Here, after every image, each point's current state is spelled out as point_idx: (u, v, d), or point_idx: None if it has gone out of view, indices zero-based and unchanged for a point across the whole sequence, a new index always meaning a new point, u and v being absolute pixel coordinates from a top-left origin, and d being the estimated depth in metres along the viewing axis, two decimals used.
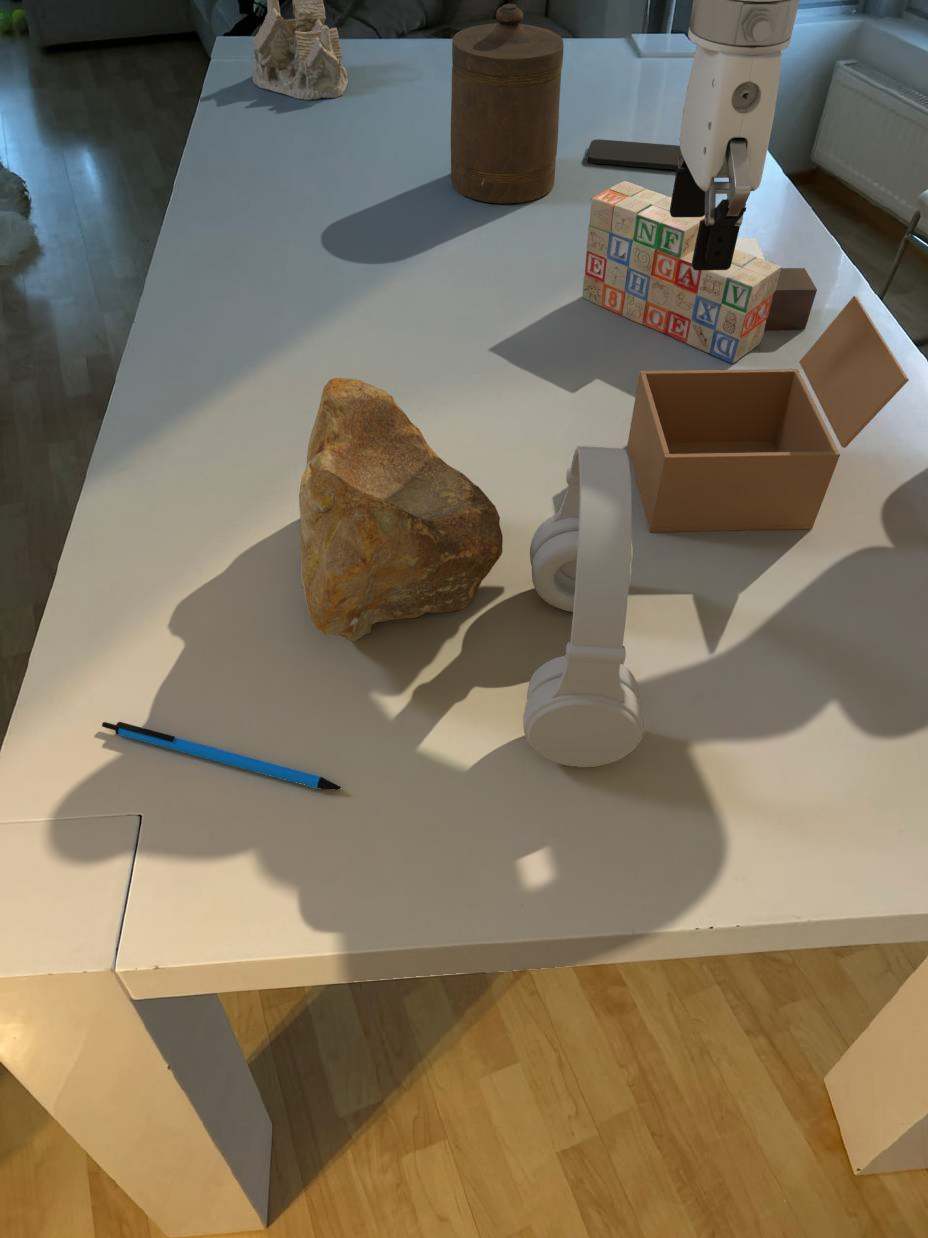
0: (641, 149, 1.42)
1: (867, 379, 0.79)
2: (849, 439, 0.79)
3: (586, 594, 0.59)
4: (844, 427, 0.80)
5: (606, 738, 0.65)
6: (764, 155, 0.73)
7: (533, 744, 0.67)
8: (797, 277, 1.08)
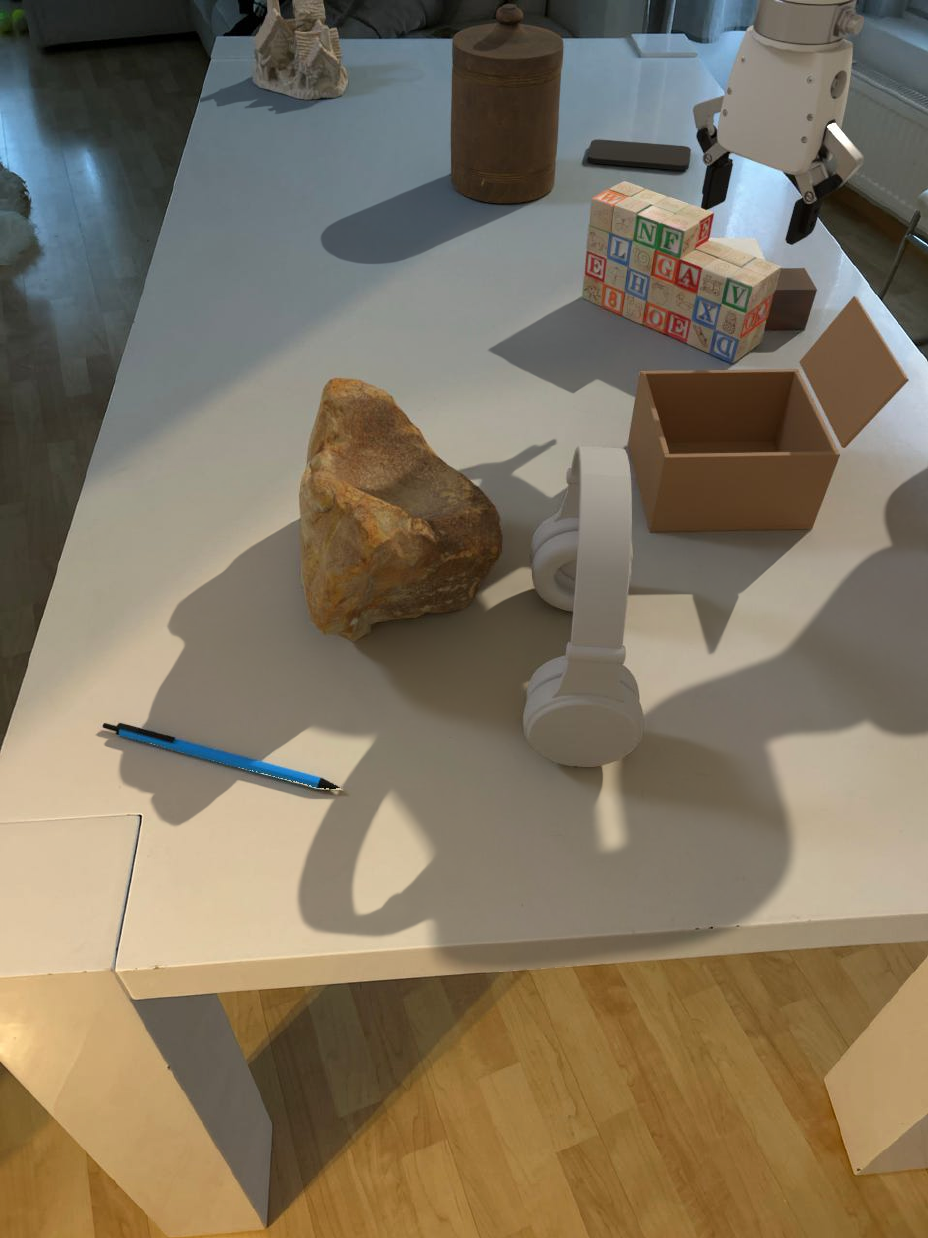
0: (641, 149, 1.42)
1: (867, 379, 0.79)
2: (849, 439, 0.79)
3: (586, 594, 0.59)
4: (844, 427, 0.80)
5: (606, 738, 0.65)
6: (840, 129, 0.83)
7: (533, 744, 0.67)
8: (797, 277, 1.08)
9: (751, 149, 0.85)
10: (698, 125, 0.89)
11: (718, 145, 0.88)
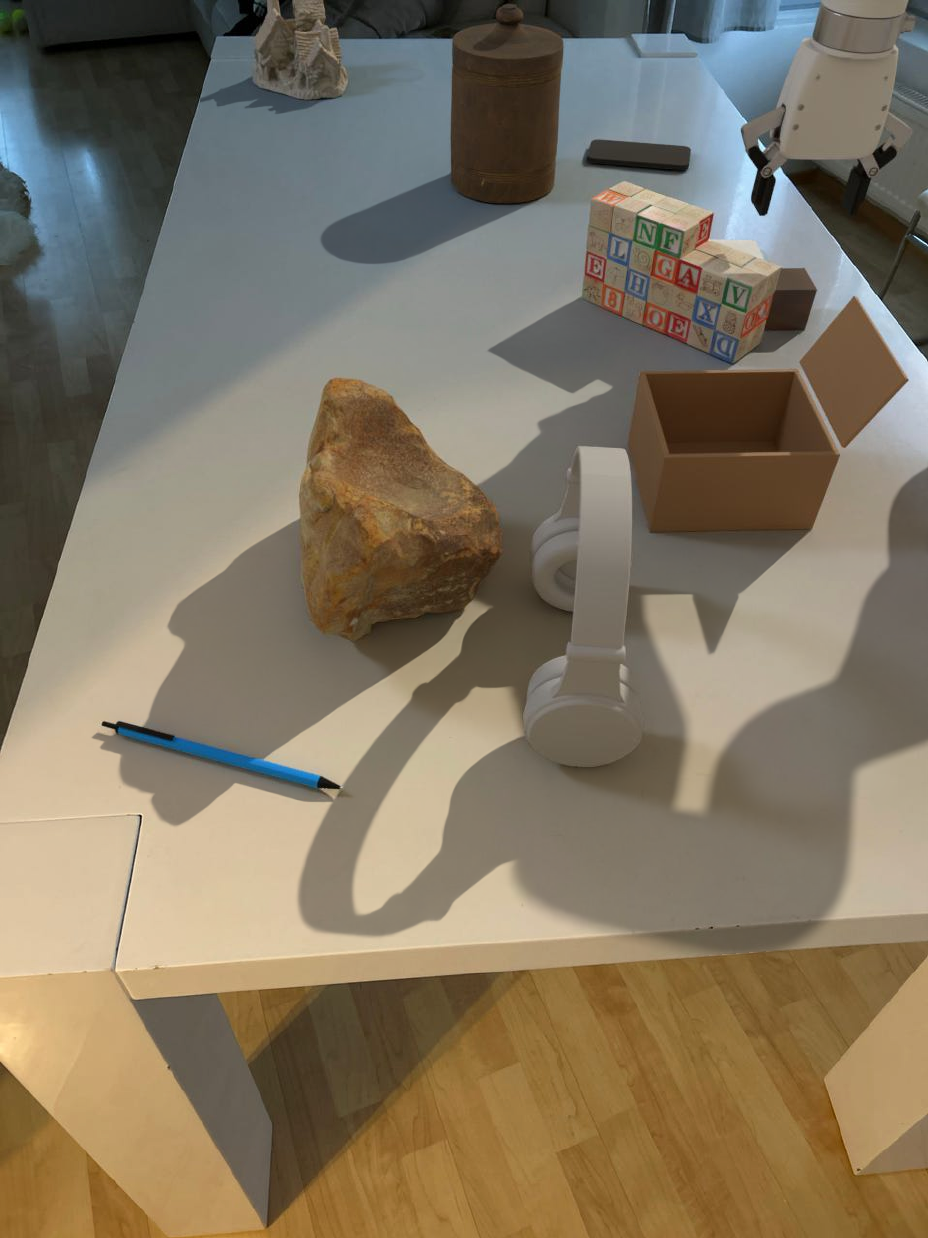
0: (641, 149, 1.42)
1: (867, 379, 0.79)
2: (849, 439, 0.79)
3: (586, 594, 0.59)
4: (844, 427, 0.80)
5: (606, 738, 0.65)
6: None
7: (533, 744, 0.67)
8: (797, 277, 1.08)
9: (823, 150, 0.95)
10: (749, 146, 0.96)
11: (779, 157, 0.96)
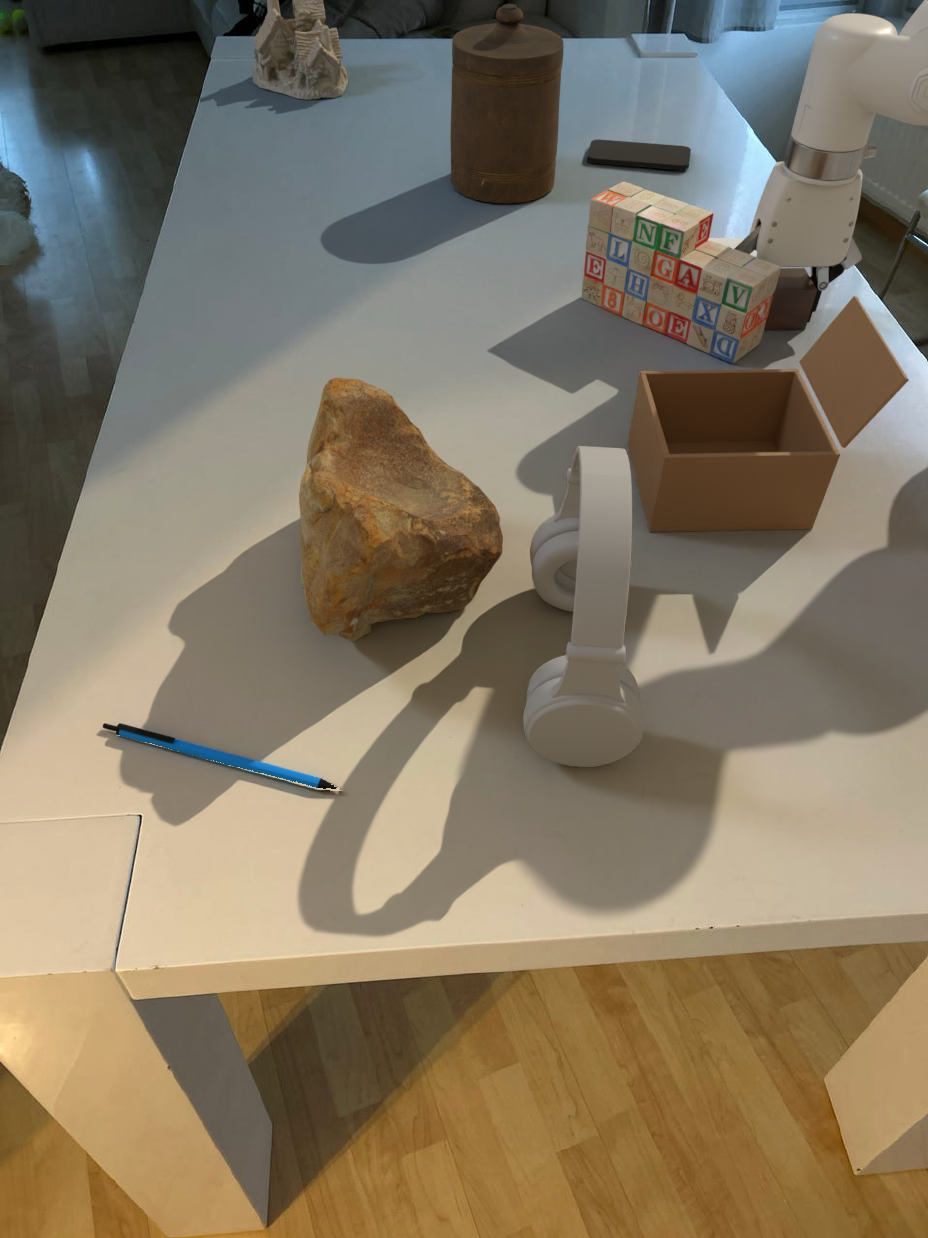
0: (641, 149, 1.42)
1: (867, 379, 0.79)
2: (849, 439, 0.79)
3: (587, 594, 0.59)
4: (844, 427, 0.80)
5: (606, 738, 0.65)
6: None
7: (533, 744, 0.67)
8: (797, 277, 1.08)
9: (796, 259, 1.04)
10: None
11: None
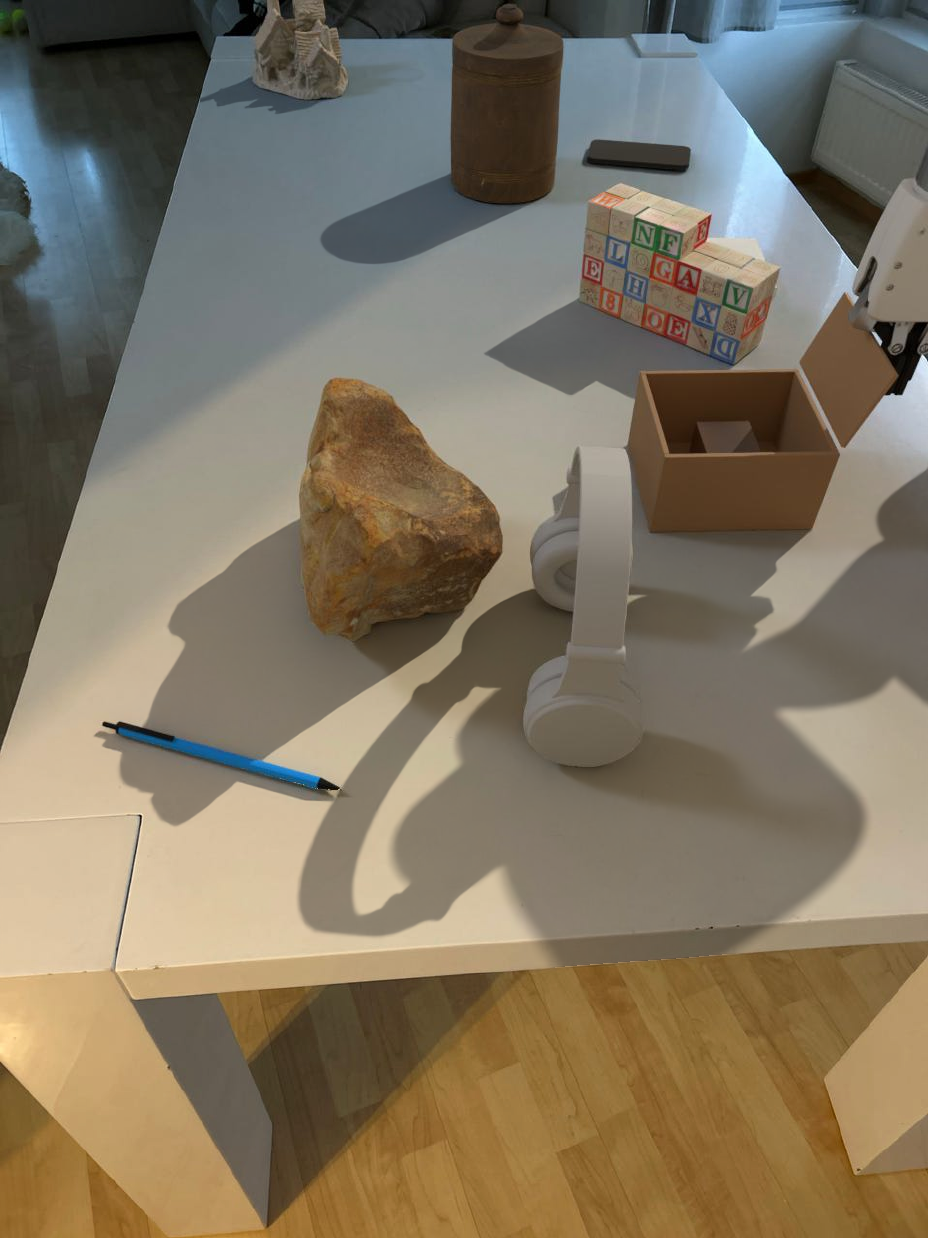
0: (641, 149, 1.42)
1: (860, 377, 0.79)
2: (848, 439, 0.79)
3: (587, 594, 0.59)
4: (842, 427, 0.80)
5: (606, 738, 0.65)
6: None
7: (533, 744, 0.67)
8: (738, 435, 0.87)
9: (923, 313, 0.75)
10: (870, 328, 0.78)
11: (898, 330, 0.77)
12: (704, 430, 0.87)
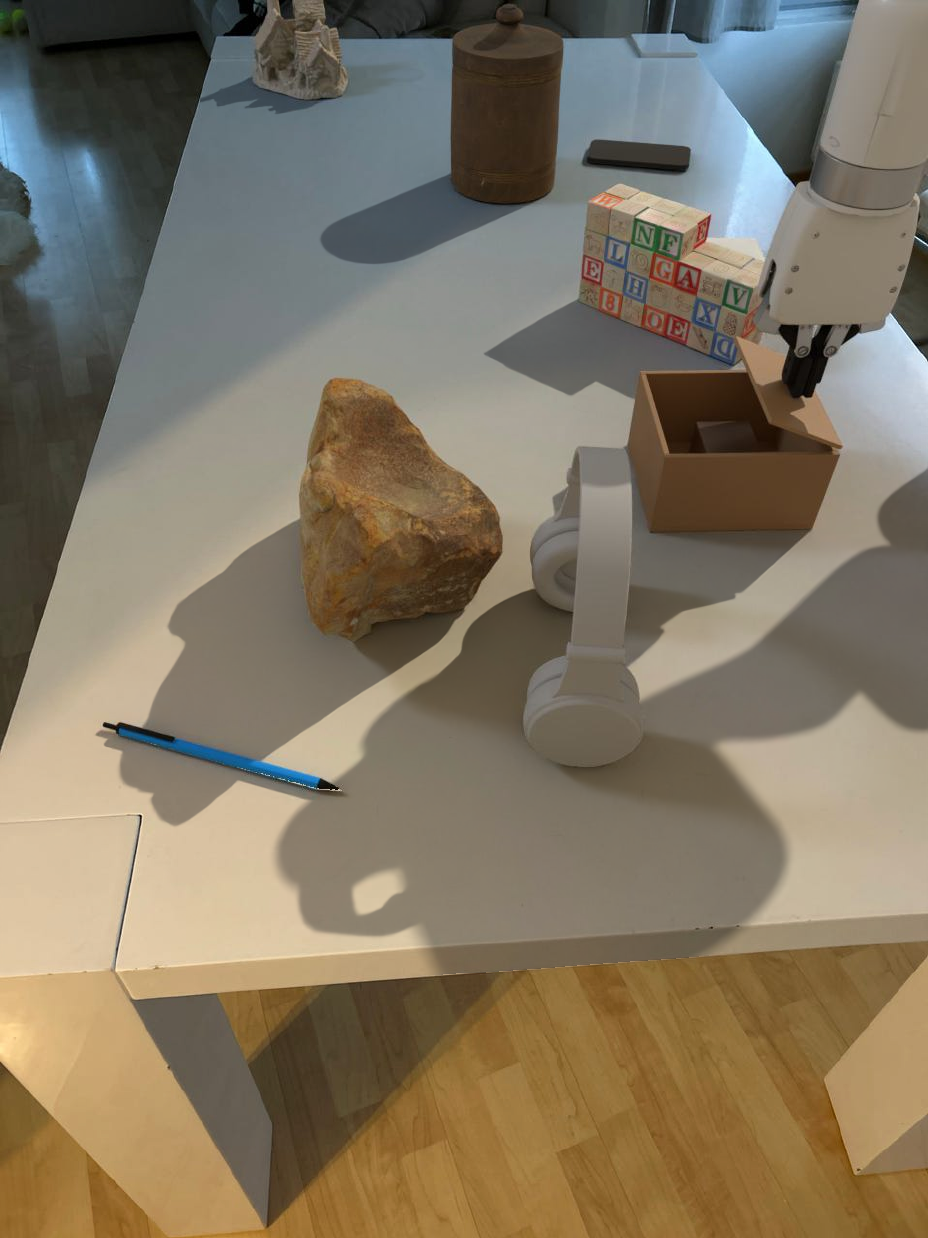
0: (641, 149, 1.42)
1: None
2: (832, 445, 0.80)
3: (587, 594, 0.59)
4: None
5: (606, 738, 0.65)
6: None
7: (533, 744, 0.67)
8: (738, 435, 0.87)
9: (824, 315, 0.75)
10: (775, 331, 0.78)
11: (802, 333, 0.77)
12: (704, 430, 0.87)
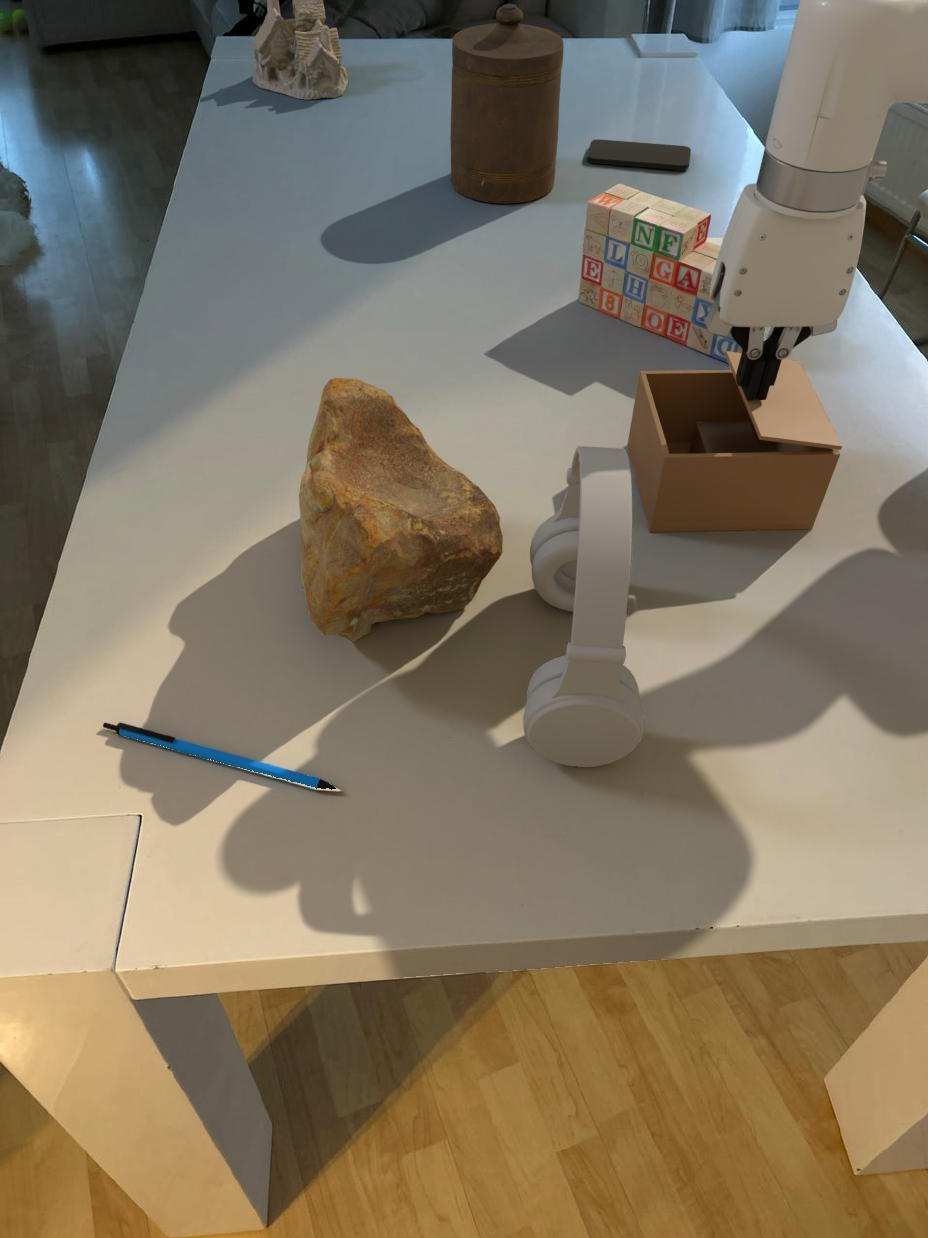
0: (641, 149, 1.42)
1: None
2: (831, 448, 0.80)
3: (586, 594, 0.59)
4: None
5: (606, 738, 0.65)
6: None
7: (533, 744, 0.67)
8: (738, 435, 0.87)
9: (774, 318, 0.75)
10: (727, 333, 0.78)
11: (753, 335, 0.77)
12: (704, 430, 0.87)
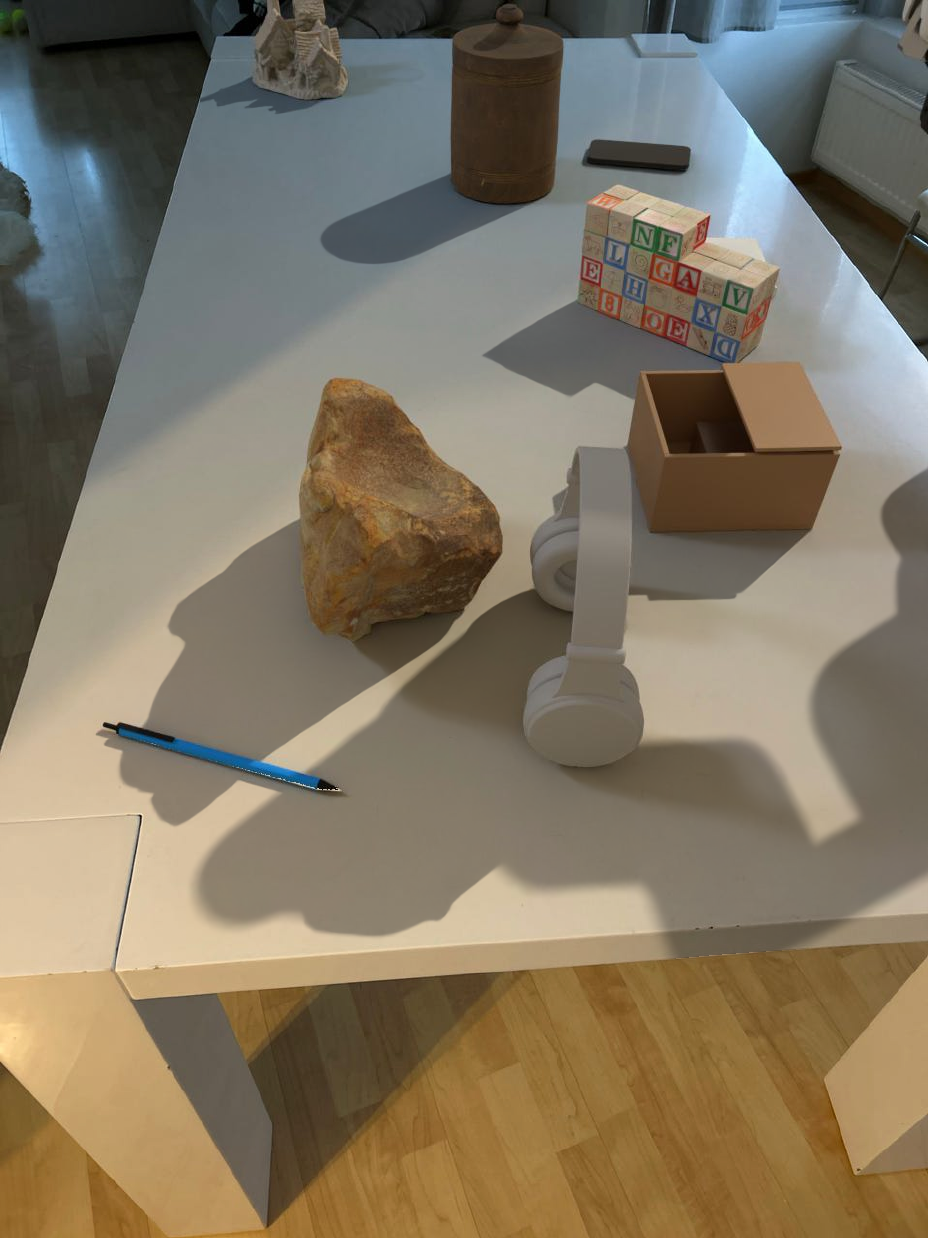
0: (641, 149, 1.42)
1: None
2: (831, 449, 0.80)
3: (587, 594, 0.59)
4: None
5: (606, 738, 0.65)
6: None
7: (533, 744, 0.67)
8: (738, 435, 0.87)
9: None
10: (921, 55, 0.75)
11: None
12: (704, 430, 0.87)
